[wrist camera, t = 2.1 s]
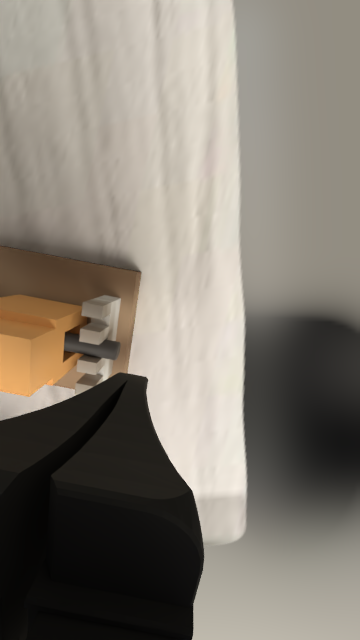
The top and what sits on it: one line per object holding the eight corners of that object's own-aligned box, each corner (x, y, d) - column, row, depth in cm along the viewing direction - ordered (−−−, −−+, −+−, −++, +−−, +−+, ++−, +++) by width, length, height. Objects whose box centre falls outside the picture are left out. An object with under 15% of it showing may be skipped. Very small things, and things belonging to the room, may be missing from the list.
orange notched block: (83, 358, 17) (28, 405, 11) (18, 346, 17) (-70, 386, 12) (88, 307, 16) (31, 329, 11) (19, 294, 16) (-76, 309, 11)
